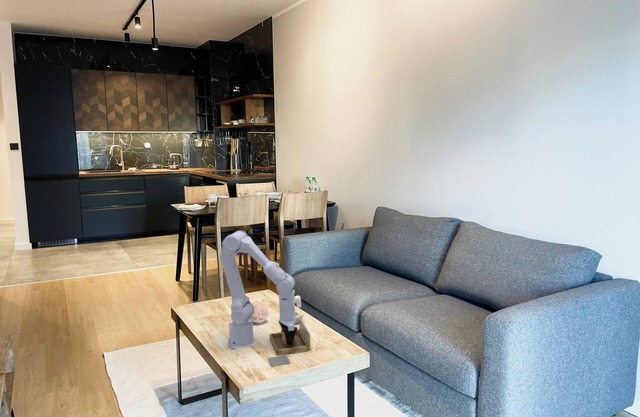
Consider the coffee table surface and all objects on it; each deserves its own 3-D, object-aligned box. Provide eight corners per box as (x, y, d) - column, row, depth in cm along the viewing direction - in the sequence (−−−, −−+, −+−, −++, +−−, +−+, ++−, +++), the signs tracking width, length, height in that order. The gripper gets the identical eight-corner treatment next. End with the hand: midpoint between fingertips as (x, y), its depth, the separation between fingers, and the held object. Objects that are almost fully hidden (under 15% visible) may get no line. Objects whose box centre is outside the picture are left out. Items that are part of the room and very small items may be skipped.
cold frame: (276, 357, 179) (276, 340, 178) (269, 339, 195) (268, 324, 194) (311, 352, 182) (310, 335, 181) (301, 335, 198) (300, 320, 197)
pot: (282, 348, 185) (282, 333, 184) (280, 342, 190) (279, 328, 189) (296, 346, 186) (296, 331, 186) (293, 341, 192) (293, 326, 191)
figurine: (306, 322, 211) (304, 289, 209) (288, 328, 205) (287, 294, 203) (295, 318, 217) (294, 285, 215) (278, 324, 211) (276, 290, 209)
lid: (308, 352, 183) (308, 332, 182) (299, 336, 197) (299, 318, 196) (310, 351, 183) (309, 332, 182) (301, 336, 198) (300, 318, 196)
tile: (270, 368, 171) (270, 366, 171) (267, 359, 178) (267, 357, 177) (290, 365, 173) (290, 363, 172) (286, 356, 179) (286, 355, 179)
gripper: (301, 312, 180) (302, 347, 182) (293, 300, 194) (294, 333, 196) (282, 315, 179) (284, 350, 181) (275, 302, 192) (277, 335, 194)
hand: (288, 341), depth 188 cm, fingers open, 5 cm apart
